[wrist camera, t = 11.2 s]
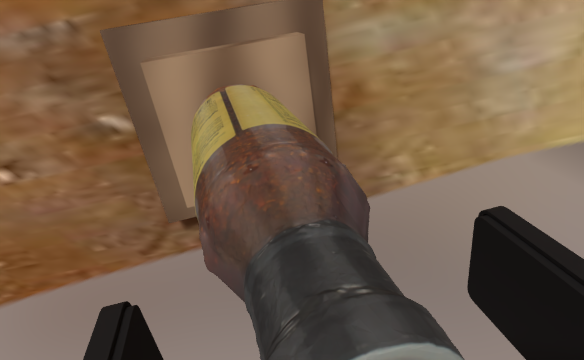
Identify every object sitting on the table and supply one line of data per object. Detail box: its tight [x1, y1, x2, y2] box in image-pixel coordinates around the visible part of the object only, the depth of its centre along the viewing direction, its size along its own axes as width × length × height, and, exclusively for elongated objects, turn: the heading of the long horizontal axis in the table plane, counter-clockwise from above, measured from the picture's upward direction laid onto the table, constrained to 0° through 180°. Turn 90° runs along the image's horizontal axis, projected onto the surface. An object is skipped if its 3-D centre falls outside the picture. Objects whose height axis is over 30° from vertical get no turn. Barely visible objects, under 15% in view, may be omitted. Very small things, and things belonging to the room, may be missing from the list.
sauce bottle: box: [191, 84, 464, 360], centre depth 15 cm, size 7×6×20 cm
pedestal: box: [100, 0, 337, 223], centre depth 26 cm, size 14×14×4 cm
